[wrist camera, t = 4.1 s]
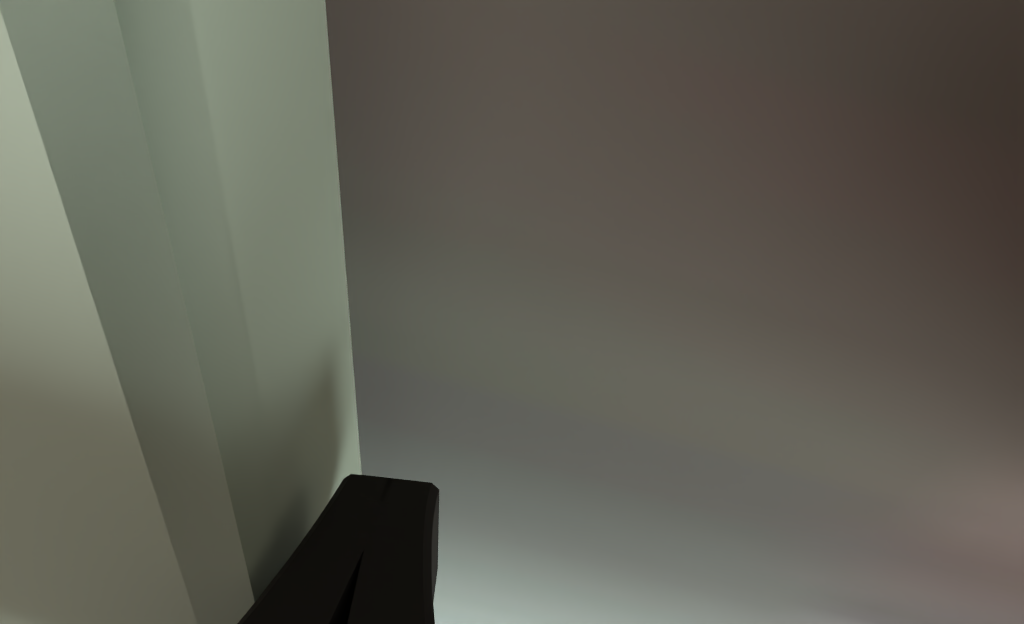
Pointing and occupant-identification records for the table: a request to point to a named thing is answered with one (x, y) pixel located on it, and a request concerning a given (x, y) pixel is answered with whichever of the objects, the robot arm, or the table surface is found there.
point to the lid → (166, 305)
